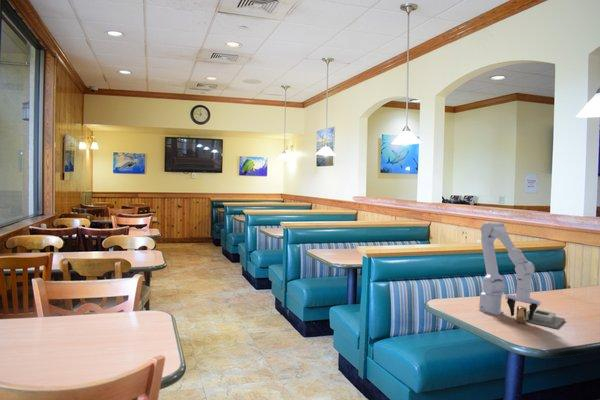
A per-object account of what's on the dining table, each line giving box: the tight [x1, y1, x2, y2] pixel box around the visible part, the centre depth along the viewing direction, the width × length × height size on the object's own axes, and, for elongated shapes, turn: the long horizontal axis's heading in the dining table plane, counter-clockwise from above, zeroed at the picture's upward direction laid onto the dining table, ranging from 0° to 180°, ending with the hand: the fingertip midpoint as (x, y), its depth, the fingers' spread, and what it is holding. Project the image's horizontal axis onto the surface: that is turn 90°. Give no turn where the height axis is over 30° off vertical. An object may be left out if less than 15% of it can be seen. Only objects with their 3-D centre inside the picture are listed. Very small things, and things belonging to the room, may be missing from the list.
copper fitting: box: [515, 305, 528, 325], centre depth 209 cm, size 4×4×7 cm
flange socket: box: [526, 308, 566, 330], centre depth 213 cm, size 16×16×4 cm
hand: (521, 317), depth 209 cm, fingers open, 7 cm apart
